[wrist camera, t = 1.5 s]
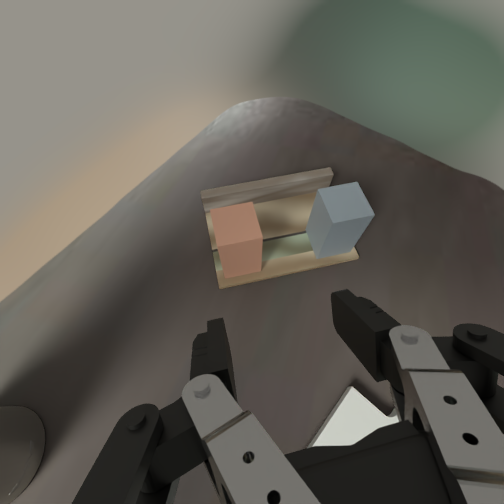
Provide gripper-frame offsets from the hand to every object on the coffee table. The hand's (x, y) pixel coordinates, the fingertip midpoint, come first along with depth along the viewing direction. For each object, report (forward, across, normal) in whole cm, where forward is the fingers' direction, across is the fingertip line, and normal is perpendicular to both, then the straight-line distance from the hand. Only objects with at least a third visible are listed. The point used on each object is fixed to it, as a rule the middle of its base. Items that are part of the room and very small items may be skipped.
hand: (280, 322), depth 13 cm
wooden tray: (+28, -7, +3) cm, 29 cm away
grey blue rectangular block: (+25, -13, +5) cm, 29 cm away
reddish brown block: (+25, 0, +5) cm, 26 cm away
